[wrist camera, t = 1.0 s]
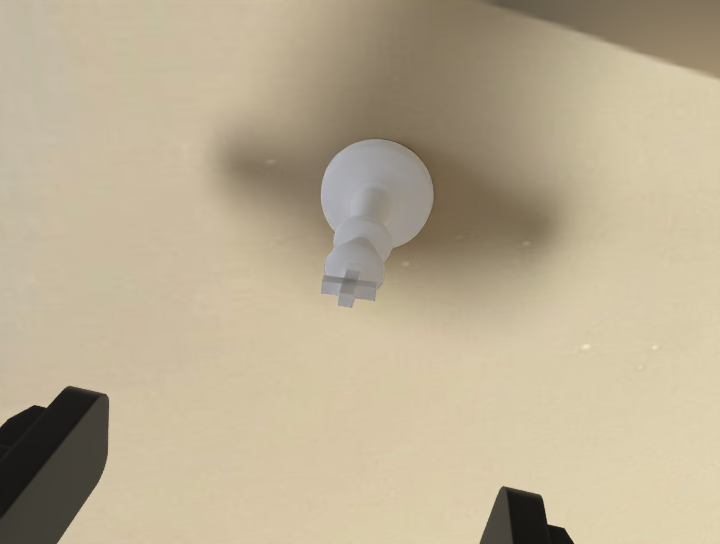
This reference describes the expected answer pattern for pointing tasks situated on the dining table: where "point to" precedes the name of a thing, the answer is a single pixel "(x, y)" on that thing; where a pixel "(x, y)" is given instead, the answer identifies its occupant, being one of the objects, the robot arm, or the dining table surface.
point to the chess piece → (371, 213)
